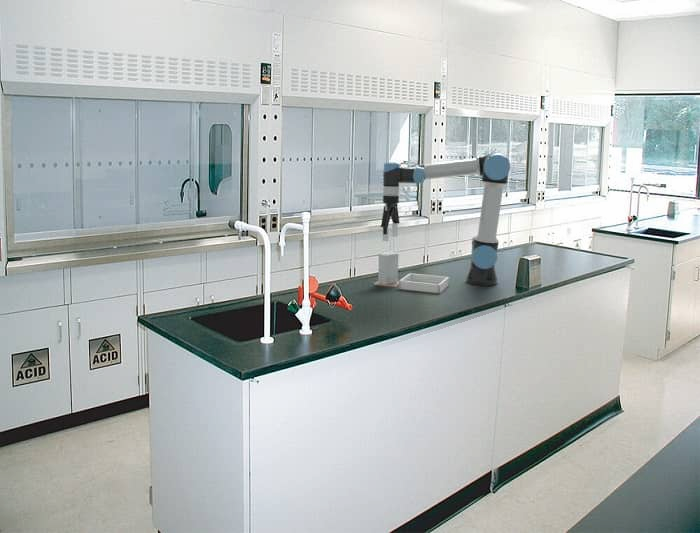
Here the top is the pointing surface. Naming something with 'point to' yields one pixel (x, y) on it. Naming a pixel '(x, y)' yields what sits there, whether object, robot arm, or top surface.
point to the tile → (387, 284)
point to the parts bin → (424, 283)
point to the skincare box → (388, 268)
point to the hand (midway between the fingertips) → (390, 238)
